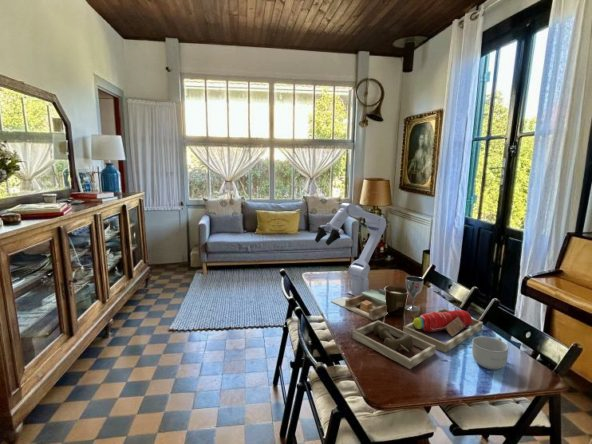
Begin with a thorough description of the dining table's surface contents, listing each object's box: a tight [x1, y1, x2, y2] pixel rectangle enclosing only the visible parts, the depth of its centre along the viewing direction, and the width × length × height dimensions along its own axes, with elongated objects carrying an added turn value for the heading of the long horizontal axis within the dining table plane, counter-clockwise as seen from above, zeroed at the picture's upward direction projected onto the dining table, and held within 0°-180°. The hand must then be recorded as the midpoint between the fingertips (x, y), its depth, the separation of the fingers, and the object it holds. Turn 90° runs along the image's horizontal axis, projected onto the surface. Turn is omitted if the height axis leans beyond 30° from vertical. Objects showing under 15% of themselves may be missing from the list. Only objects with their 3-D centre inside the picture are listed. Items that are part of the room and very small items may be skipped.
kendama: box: [372, 323, 414, 353], centre depth 126 cm, size 6×10×20 cm
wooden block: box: [359, 301, 373, 313], centre depth 158 cm, size 4×4×4 cm
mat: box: [330, 296, 351, 308], centre depth 167 cm, size 10×8×1 cm
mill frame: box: [352, 319, 436, 370], centre depth 126 cm, size 16×26×3 cm, turn 38°
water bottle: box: [413, 309, 473, 338], centre depth 138 cm, size 12×8×25 cm
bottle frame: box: [402, 307, 484, 353], centre depth 138 cm, size 31×18×3 cm, turn 128°
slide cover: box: [361, 288, 386, 304], centre depth 163 cm, size 8×16×3 cm, turn 38°
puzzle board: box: [343, 295, 389, 321], centre depth 160 cm, size 20×18×4 cm
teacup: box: [471, 335, 509, 370], centre depth 115 cm, size 14×11×8 cm
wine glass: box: [404, 275, 424, 312], centre depth 160 cm, size 8×8×15 cm
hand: (321, 242), depth 157 cm, fingers open, 7 cm apart
